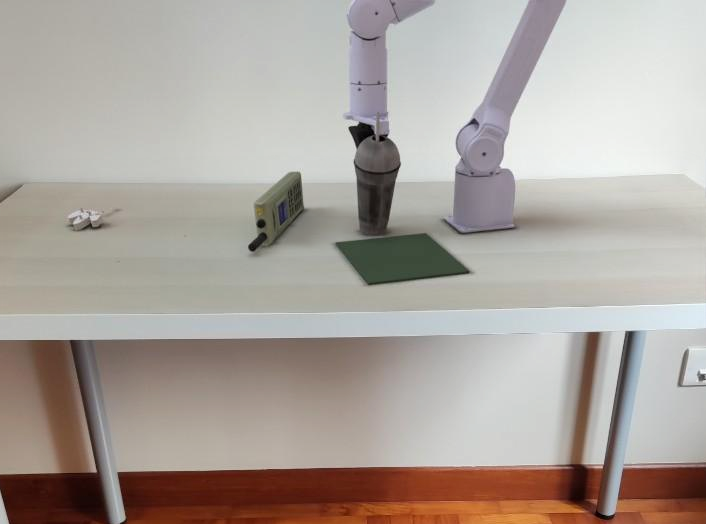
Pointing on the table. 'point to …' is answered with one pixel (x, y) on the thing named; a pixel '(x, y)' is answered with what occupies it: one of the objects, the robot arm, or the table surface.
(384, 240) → the mat
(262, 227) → the handheld radio
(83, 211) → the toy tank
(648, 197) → the table surface
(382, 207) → the beverage cup
